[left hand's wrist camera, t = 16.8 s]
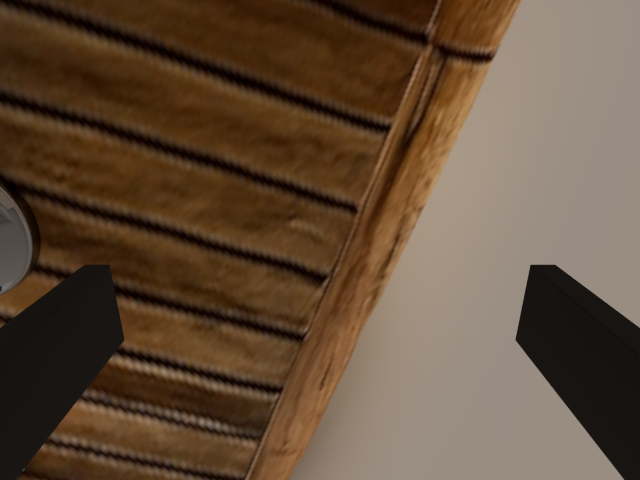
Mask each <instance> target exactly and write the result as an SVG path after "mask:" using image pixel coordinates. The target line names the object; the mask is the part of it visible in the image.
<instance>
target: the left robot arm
mask: <svg viewBox="0 0 640 480" xmlns="http://www.w3.org/2000/svg"><path fill="white" fill-rule="evenodd" d="M39 248H40V243H39V233H38V229H37V226H36V223H35V220H34V218H33V216H32V214H31V212H30V210H29V208H28V207H27V205H26V204H25V202H24V201H23V199H22V198H21V197H20V196H19V194H18V193H17V192H16V191H15V190H14V189H13V188H12V187H11V186H10V185H9V184H8V183H6V182H5V181H4V180H3V179H1V178H0V295H1V294H3V293H5V292H7V291H9V290H10V289H12V288H13V287H15V286H16V285H18V284H19V283H21V282H22V281H24V280H25V279H26V278H27V277H28V276H29V274H30V273H31V272H32V270H33V269H34V267H35V265H36V262H37V259H38V255H39ZM123 341H124V335H123V330H122V325H121V320H120V315H119V310H118V305H117V300H116V295H115V290H114V285H113V280H112V275H111V270H110V265H84V266H83V267H81V268H80V269H79V270H77V271H76V272H75V273H73V274H72V275H71V276H69V277H68V278H67V279H65V280H64V281H63V282H61V283H60V284H59V285H57V286H56V287H54V288H53V289H52V290H50V291H49V292H48V293H46V294H45V295H44V296H42V297H41V298H40V299H38V300H37V301H36V302H34V303H33V304H32V305H30V306H29V307H28V308H26V309H25V310H24V311H22V312H21V313H20V314H18V315H17V316H16V317H14V318H13V319H12V320H10V321H9V322H8V323H6V324H5V325H4V326H2V327H1V328H0V480H16V479H17V477H18V476H19V475H20V473H21V472H22V471H23V470H24V468H25V467H26V466H27V464H28V463H29V462H30V461H31V459H32V458H33V457H34V455H35V454H36V453H37V452H38V450H39V449H40V448H41V446H42V445H43V444H44V443H45V441H46V440H47V439H48V437H49V436H50V435H51V434H52V432H53V431H54V430H55V428H56V427H57V426H58V425H59V423H60V422H61V421H62V419H63V418H64V417H65V416H66V414H67V413H68V412H69V411H70V409H71V408H72V407H73V405H74V404H75V403H76V402H77V400H78V399H79V398H80V396H81V395H82V394H83V393H84V391H85V390H86V389H87V387H88V386H89V385H90V384H91V382H92V381H93V380H94V378H95V377H96V376H97V375H98V373H99V372H100V371H101V369H102V368H103V367H104V366H105V364H106V363H107V362H108V360H109V359H110V358H111V357H112V355H113V354H114V353H115V352H116V350H117V349H118V348H119V346H120V345H121V344H122V343H123ZM516 341H517V343H518V344H519V345H520V346H521V348H522V349H523V350H524V351H525V353H526V354H527V355H528V357H529V358H530V359H531V360H532V362H533V363H534V364H535V366H536V367H537V368H538V369H539V371H540V372H541V373H542V375H543V376H544V377H545V378H546V380H547V381H548V382H549V384H550V385H551V386H552V387H553V389H554V390H555V391H556V393H557V394H558V395H559V396H560V398H561V399H562V400H563V401H564V403H565V404H566V405H567V407H568V408H569V409H570V410H571V412H572V413H573V414H574V416H575V417H576V418H577V419H578V421H579V422H580V423H581V425H582V426H583V427H584V428H585V430H586V431H587V432H588V434H589V435H590V436H591V437H592V439H593V440H594V441H595V443H596V444H597V445H598V446H599V448H600V449H601V450H602V452H603V453H604V454H605V455H606V457H607V458H608V459H609V460H610V462H611V463H612V464H613V466H614V467H615V468H616V470H617V471H618V472H619V473H620V475H621V476H622V477H623V479H624V480H640V328H639V327H638V326H636V325H635V324H634V323H632V322H631V321H630V320H628V319H627V318H626V317H624V316H623V315H622V314H620V313H619V312H618V311H616V310H615V309H614V308H612V307H611V306H610V305H608V304H607V303H606V302H604V301H603V300H602V299H600V298H599V297H598V296H596V295H595V294H594V293H592V292H591V291H589V290H588V289H587V288H585V287H584V286H583V285H581V284H580V283H579V282H577V281H576V280H575V279H573V278H572V277H571V276H569V275H568V274H567V273H565V272H564V271H563V270H561V269H560V268H559V267H557V266H556V265H530V270H529V275H528V280H527V285H526V290H525V295H524V300H523V305H522V310H521V315H520V320H519V325H518V330H517V335H516Z"/></svg>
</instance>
